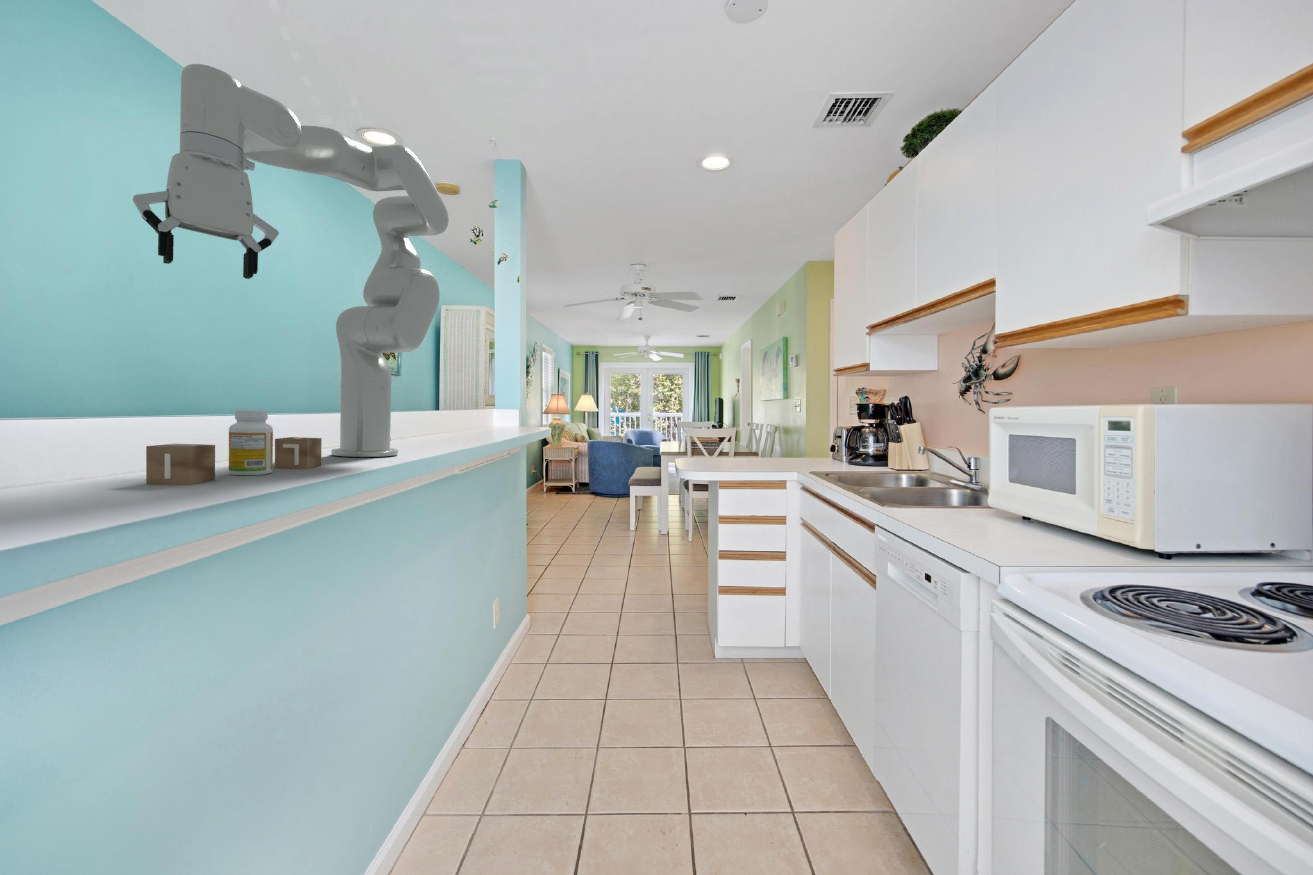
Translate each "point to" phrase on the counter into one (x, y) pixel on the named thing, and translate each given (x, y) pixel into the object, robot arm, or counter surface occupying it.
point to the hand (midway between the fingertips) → (209, 270)
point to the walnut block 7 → (297, 453)
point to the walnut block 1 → (180, 464)
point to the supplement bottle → (250, 444)
